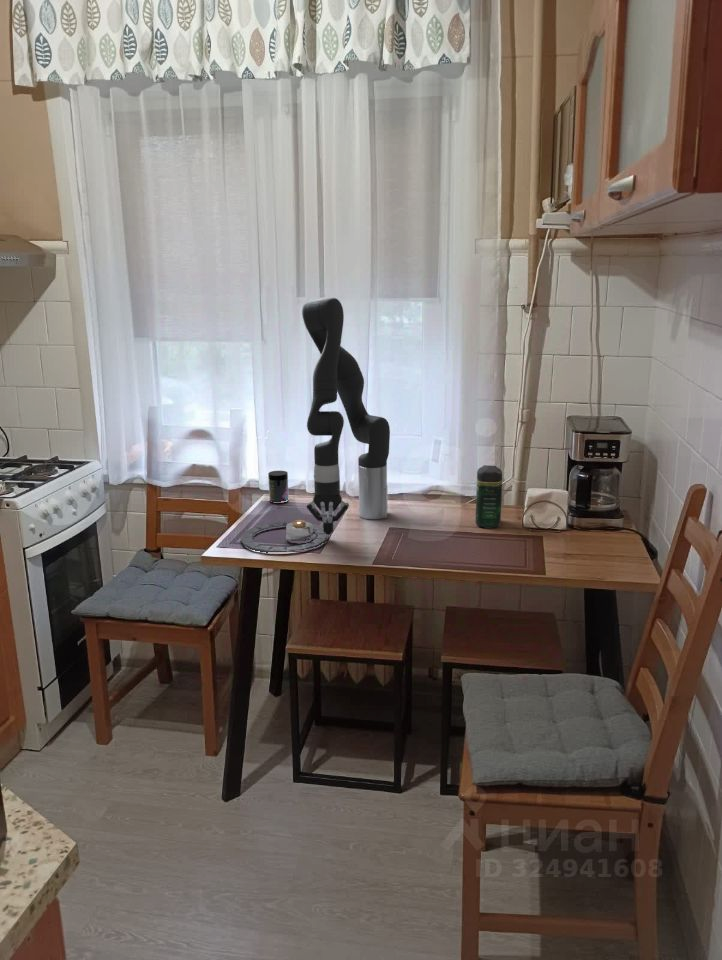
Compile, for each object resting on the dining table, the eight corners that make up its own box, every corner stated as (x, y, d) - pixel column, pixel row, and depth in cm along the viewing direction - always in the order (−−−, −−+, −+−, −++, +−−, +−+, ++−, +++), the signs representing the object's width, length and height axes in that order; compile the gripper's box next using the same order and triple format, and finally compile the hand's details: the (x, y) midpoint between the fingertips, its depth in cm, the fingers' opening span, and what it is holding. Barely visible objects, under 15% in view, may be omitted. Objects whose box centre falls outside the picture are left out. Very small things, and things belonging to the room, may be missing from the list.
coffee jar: (501, 529, 245) (503, 471, 240) (475, 528, 246) (477, 471, 241) (500, 519, 254) (502, 463, 249) (475, 518, 255) (476, 463, 250)
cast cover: (314, 535, 242) (314, 517, 241) (311, 544, 235) (310, 526, 233) (289, 535, 243) (288, 517, 241) (284, 544, 235) (283, 526, 234)
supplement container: (281, 505, 272) (280, 476, 269) (265, 503, 275) (264, 474, 272) (292, 500, 278) (291, 471, 275) (276, 497, 281) (275, 469, 278)
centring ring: (332, 525, 250) (332, 522, 250) (321, 555, 226) (321, 551, 225) (252, 524, 253) (252, 521, 252) (232, 553, 228) (232, 550, 227)
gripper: (350, 475, 236) (351, 529, 240) (306, 474, 237) (308, 529, 241) (348, 481, 229) (349, 538, 233) (302, 481, 230) (304, 537, 234)
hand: (328, 533), depth 237 cm, fingers closed
